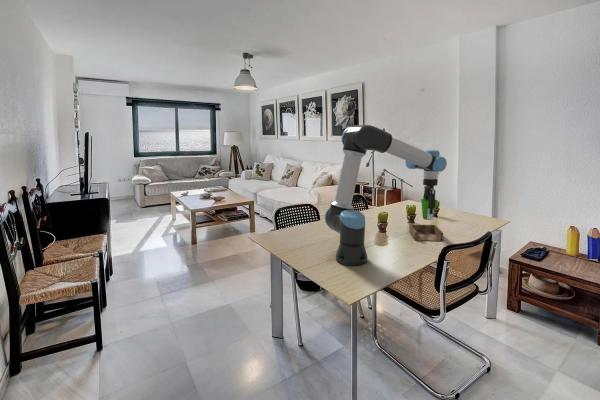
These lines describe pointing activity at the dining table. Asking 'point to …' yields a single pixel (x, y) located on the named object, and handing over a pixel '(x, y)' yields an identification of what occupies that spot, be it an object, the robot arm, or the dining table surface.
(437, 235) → the wooden tray
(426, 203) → the cup
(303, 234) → the dining table surface
